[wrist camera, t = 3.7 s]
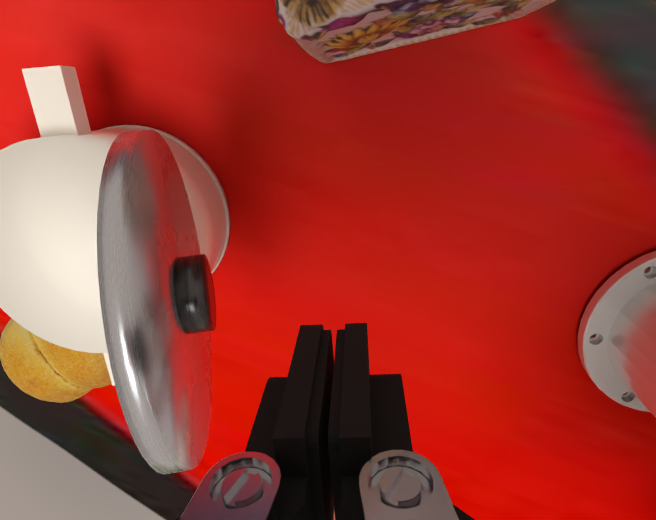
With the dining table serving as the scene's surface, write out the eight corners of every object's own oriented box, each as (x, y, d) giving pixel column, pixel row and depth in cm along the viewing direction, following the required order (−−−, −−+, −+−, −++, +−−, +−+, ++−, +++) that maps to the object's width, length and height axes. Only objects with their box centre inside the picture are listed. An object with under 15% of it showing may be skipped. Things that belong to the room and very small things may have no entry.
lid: (158, 124, 21) (198, 120, 21) (204, 353, 25) (236, 348, 25) (47, 149, 9) (137, 141, 10) (166, 566, 14) (226, 554, 14)
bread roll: (149, 360, 36) (123, 392, 32) (63, 397, 38) (30, 431, 34) (87, 273, 33) (52, 296, 30) (-1, 317, 35) (-44, 344, 31)
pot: (206, 64, 27) (147, 53, 20) (248, 330, 34) (214, 398, 26) (21, 81, 28) (-101, 76, 21) (95, 334, 35) (21, 400, 27)
